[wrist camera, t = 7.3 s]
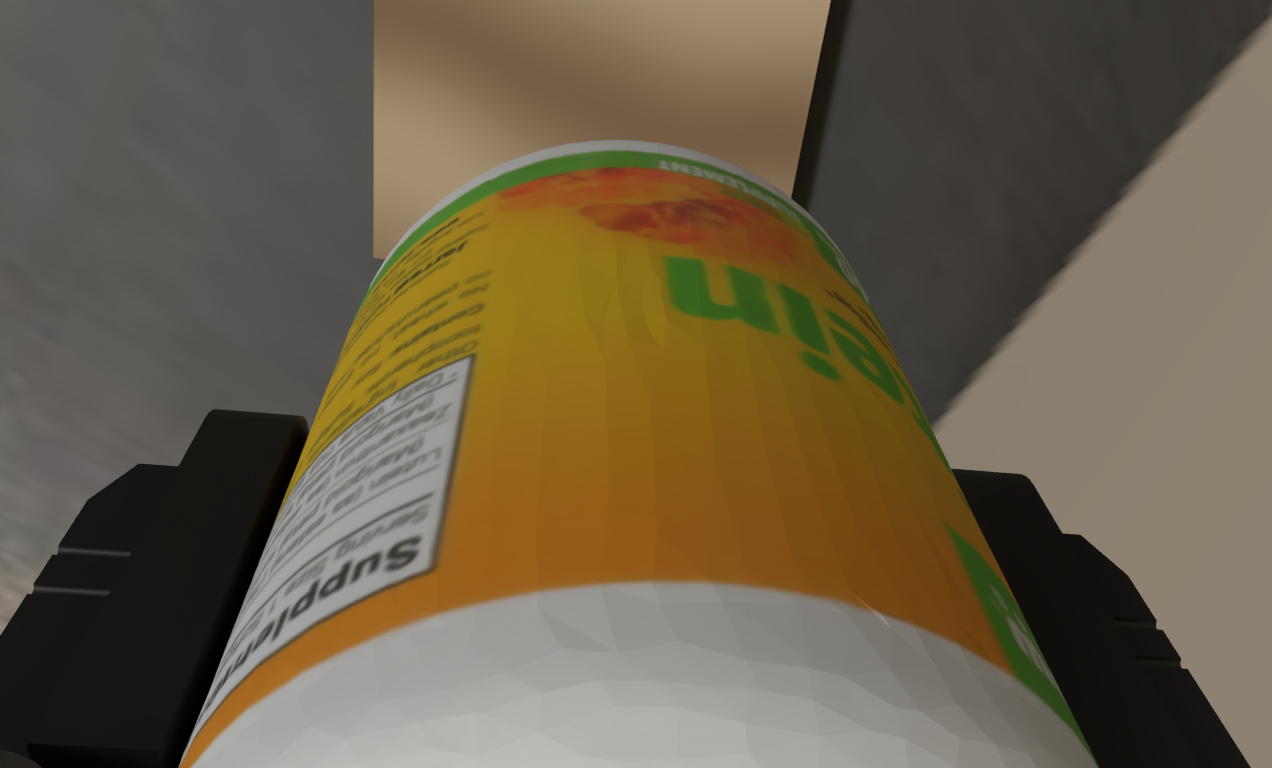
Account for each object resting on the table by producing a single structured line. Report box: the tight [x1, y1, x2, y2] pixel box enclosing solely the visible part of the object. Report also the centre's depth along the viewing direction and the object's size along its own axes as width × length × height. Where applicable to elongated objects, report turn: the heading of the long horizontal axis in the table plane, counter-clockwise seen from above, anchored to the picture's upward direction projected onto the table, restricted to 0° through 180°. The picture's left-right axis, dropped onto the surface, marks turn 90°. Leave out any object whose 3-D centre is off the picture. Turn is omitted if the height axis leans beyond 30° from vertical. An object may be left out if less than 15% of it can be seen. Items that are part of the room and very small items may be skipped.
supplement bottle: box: [179, 140, 1099, 768], centre depth 7 cm, size 5×5×10 cm
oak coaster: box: [374, 0, 831, 259], centre depth 23 cm, size 9×9×1 cm
